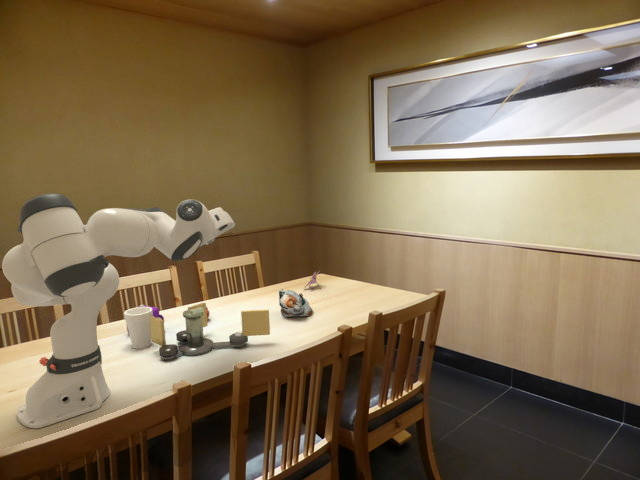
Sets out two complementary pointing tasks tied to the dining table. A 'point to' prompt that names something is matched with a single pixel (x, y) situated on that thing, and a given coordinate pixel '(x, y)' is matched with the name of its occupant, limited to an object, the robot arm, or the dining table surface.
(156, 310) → the toy camera
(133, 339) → the foam cup
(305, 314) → the grey lumpy piece
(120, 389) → the dining table surface
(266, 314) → the tan placard on stand
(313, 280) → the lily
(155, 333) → the tribrach
